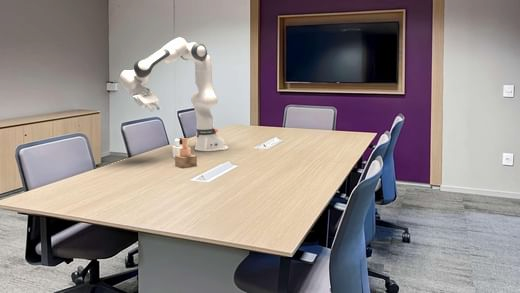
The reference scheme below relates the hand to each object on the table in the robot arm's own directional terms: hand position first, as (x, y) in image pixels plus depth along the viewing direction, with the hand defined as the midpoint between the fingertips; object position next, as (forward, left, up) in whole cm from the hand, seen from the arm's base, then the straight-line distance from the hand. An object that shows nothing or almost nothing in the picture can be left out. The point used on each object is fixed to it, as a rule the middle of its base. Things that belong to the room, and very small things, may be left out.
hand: (156, 110), depth 270 cm
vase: (-13, +19, -25) cm, 34 cm away
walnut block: (-13, +19, -31) cm, 39 cm away
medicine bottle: (-14, -5, -31) cm, 34 cm away
